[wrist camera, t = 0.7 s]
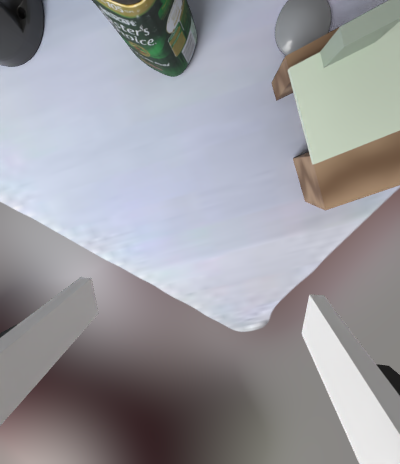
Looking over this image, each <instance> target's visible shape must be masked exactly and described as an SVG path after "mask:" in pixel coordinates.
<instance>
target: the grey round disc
mask: <svg viewBox="0 0 400 464" xmlns="http://www.w3.org/2000/svg"><path fill="white" fill-rule="evenodd" d="M330 23H331V10H330V6H329V4H328V2H327V0H289V1H288V2H287V3H286V4H285V5H284V7H283V8H282V10H281V12H280V14H279V16H278V19H277V22H276V27H275V39H276V43H277V46H278V48H279V49H280V51H281V52H282V53H283V54H284V55H285V56H287V55H289V54H290V53H292V52H294V51H296V50H298V49H300V48H302V47H303V46H305V45H307V44H309V43H311V42H313V41H315V40H316V39H318V38H320V37H322V36H324V35H326V34H327V33H328V31H329V28H330Z"/></svg>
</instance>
